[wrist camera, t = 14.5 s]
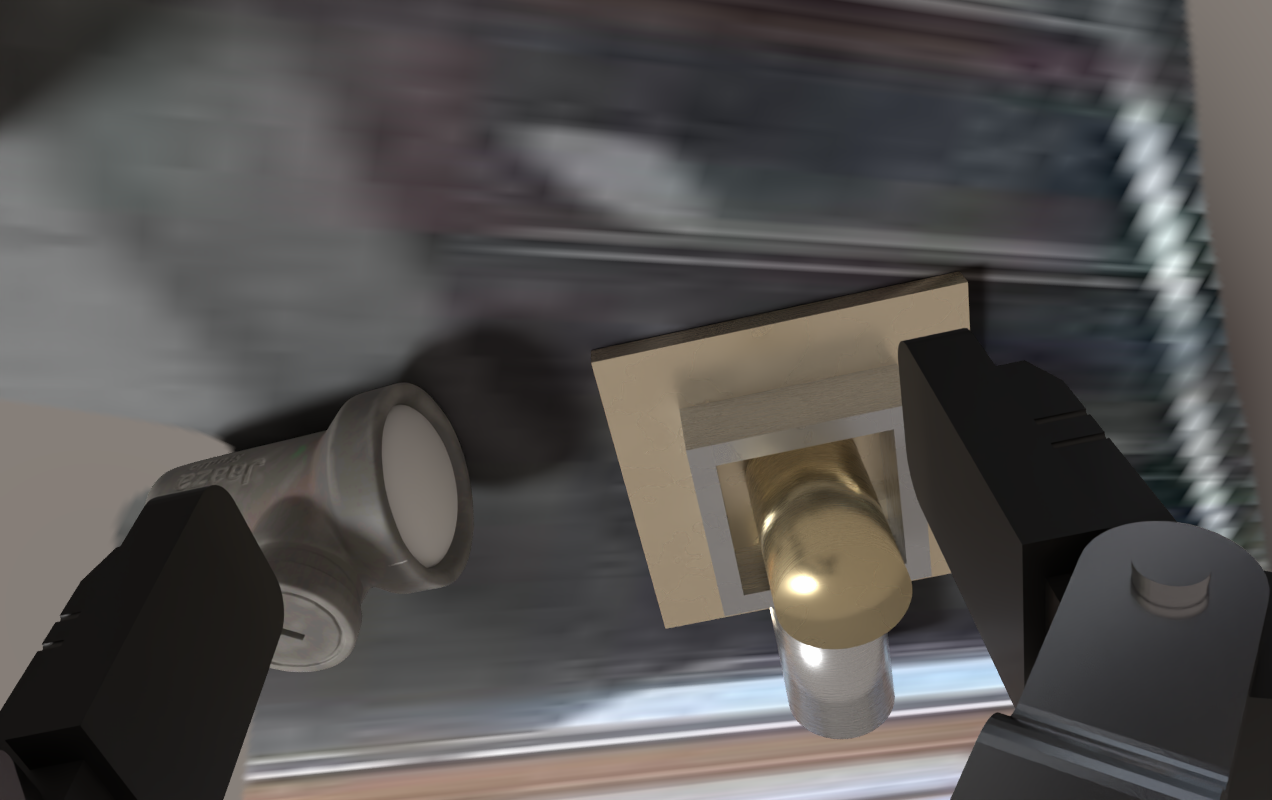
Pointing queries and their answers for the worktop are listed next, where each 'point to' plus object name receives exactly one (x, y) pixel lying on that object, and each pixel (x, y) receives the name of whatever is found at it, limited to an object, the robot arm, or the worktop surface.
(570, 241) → the worktop surface
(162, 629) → the robot arm
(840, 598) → the brass cylinder plug
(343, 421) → the pipe fitting
